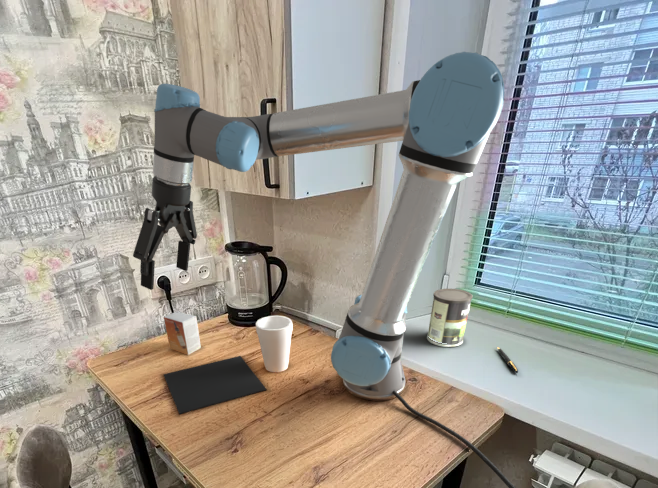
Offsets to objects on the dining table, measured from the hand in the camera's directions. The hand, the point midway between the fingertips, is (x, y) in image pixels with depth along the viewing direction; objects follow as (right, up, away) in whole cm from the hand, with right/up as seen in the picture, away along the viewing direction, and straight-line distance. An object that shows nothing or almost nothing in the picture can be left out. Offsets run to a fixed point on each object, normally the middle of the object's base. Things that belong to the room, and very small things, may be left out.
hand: (165, 277), depth 95 cm
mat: (+9, -24, +13) cm, 29 cm away
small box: (-3, -14, +30) cm, 33 cm away
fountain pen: (+87, -19, +17) cm, 91 cm away
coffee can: (+75, -11, +29) cm, 81 cm away
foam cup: (+25, -20, +19) cm, 37 cm away
